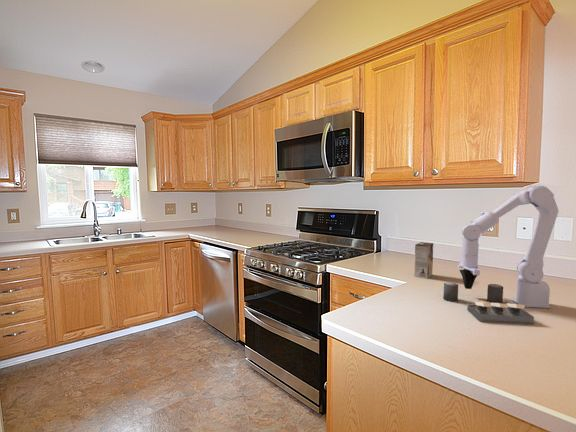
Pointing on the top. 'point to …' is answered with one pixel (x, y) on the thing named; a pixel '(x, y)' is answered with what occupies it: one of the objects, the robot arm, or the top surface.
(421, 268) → the coffee box
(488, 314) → the panel
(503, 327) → the top surface
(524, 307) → the paddle
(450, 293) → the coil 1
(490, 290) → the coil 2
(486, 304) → the paddle
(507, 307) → the paddle mid
